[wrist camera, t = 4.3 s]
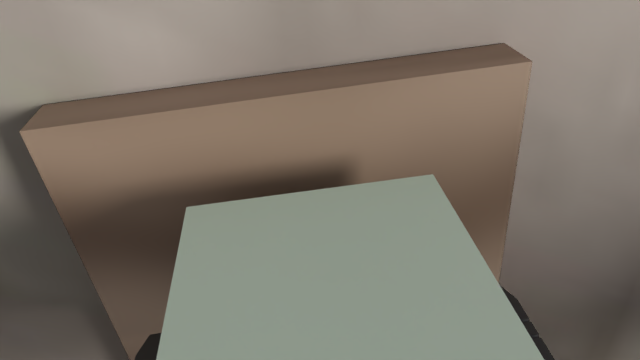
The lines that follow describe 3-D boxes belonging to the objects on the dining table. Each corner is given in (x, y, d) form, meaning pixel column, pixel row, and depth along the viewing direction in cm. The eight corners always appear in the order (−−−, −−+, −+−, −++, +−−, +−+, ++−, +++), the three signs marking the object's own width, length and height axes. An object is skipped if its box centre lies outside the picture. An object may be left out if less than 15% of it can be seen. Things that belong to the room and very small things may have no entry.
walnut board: (43, 105, 12) (19, 131, 11) (504, 43, 13) (532, 61, 11) (212, 490, 23) (210, 526, 22) (457, 446, 24) (469, 478, 22)
